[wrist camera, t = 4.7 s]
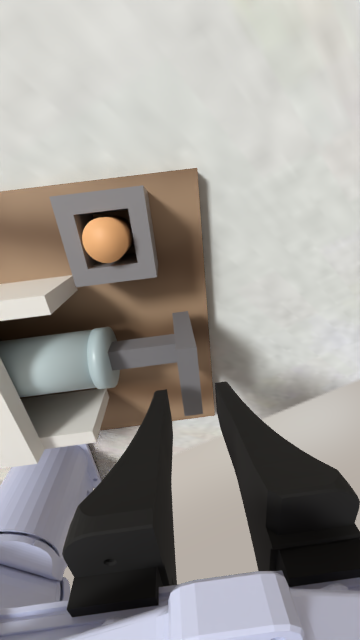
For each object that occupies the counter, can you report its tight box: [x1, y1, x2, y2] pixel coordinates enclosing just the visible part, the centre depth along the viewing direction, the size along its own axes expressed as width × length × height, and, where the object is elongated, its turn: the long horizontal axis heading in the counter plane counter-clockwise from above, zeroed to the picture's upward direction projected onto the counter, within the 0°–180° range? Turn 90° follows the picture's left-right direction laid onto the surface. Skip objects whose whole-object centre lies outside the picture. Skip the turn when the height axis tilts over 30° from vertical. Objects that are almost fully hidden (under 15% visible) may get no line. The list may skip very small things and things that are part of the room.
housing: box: [0, 185, 158, 469], centre depth 17 cm, size 17×16×6 cm
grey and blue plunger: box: [0, 311, 203, 416], centre depth 18 cm, size 5×17×7 cm, turn 96°
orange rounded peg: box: [82, 216, 134, 263], centre depth 15 cm, size 2×2×4 cm
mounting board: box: [0, 168, 215, 430], centre depth 21 cm, size 22×22×1 cm
